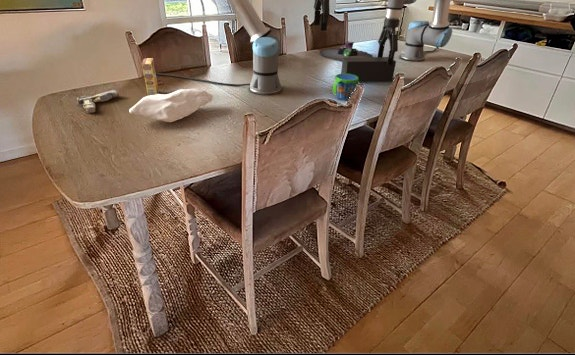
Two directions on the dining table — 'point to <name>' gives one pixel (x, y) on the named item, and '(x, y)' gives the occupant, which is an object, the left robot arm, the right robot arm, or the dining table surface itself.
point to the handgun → (95, 100)
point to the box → (369, 68)
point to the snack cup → (344, 85)
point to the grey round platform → (344, 52)
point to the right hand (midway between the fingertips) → (384, 61)
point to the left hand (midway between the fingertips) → (319, 27)
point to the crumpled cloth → (171, 104)
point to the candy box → (150, 76)
